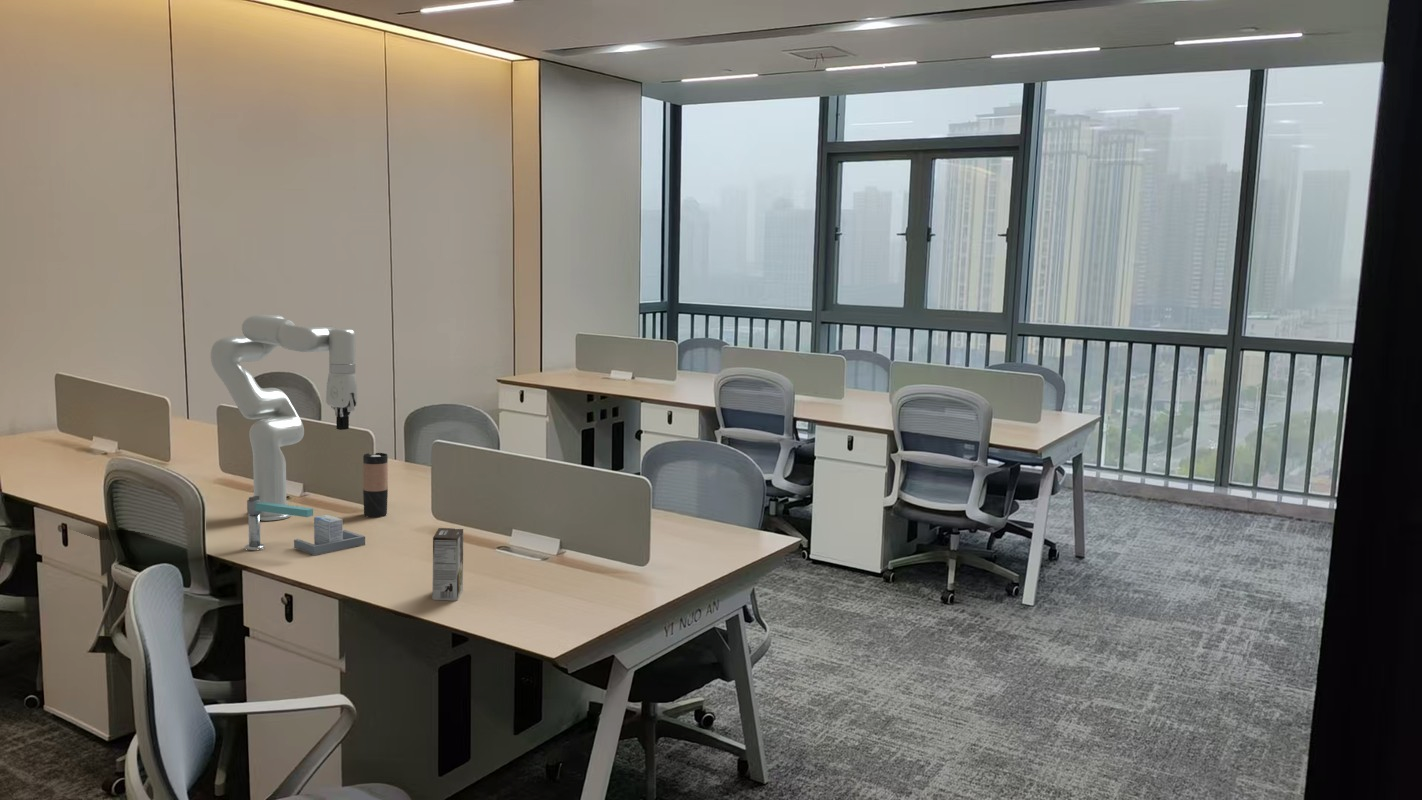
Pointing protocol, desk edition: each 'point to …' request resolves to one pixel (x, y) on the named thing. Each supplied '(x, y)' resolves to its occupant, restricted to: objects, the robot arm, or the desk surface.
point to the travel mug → (375, 484)
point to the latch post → (254, 533)
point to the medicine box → (327, 529)
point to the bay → (331, 544)
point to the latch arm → (276, 508)
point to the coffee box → (447, 564)
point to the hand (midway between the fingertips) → (342, 429)
